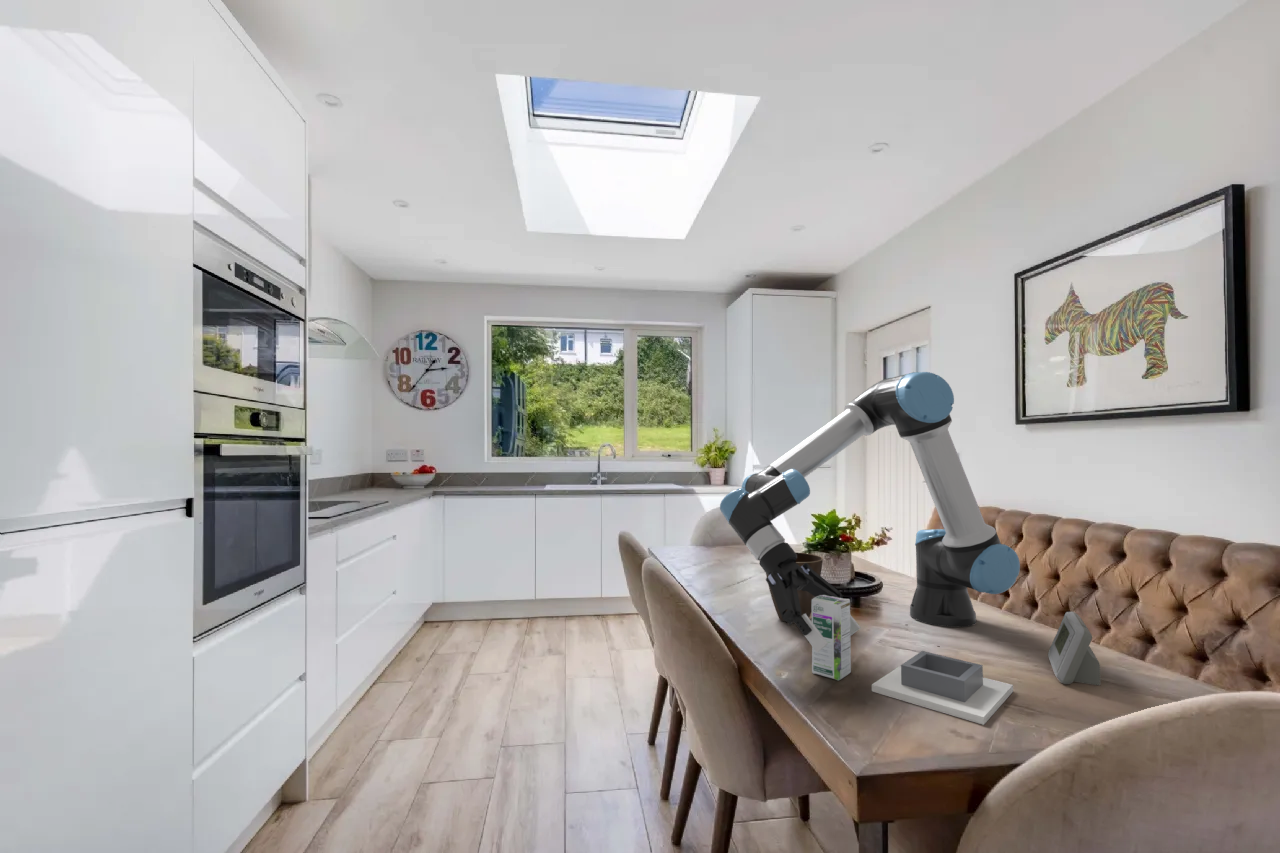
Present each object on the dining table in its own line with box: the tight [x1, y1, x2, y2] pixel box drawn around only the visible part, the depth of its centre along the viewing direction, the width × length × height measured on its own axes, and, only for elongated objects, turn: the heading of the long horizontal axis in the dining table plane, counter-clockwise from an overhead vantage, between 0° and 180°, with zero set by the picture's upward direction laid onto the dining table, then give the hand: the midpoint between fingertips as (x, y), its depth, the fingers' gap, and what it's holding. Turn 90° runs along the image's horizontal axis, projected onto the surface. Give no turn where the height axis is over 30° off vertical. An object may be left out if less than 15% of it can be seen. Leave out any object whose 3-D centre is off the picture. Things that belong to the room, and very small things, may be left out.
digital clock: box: [1047, 611, 1101, 686], centre depth 113 cm, size 16×9×11 cm, turn 138°
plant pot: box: [765, 551, 824, 624], centre depth 149 cm, size 15×15×16 cm
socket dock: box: [871, 650, 1014, 726], centre depth 104 cm, size 18×18×5 cm
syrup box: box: [811, 595, 852, 681], centre depth 113 cm, size 6×6×14 cm
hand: (840, 639), depth 112 cm, fingers open, 13 cm apart
